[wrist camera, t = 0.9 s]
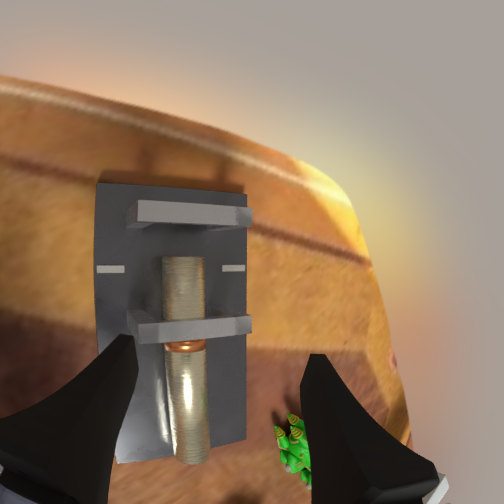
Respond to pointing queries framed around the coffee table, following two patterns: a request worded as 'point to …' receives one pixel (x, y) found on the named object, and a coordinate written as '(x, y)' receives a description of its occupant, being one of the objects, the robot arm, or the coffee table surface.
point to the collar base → (151, 305)
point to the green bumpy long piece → (295, 448)
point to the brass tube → (186, 360)
